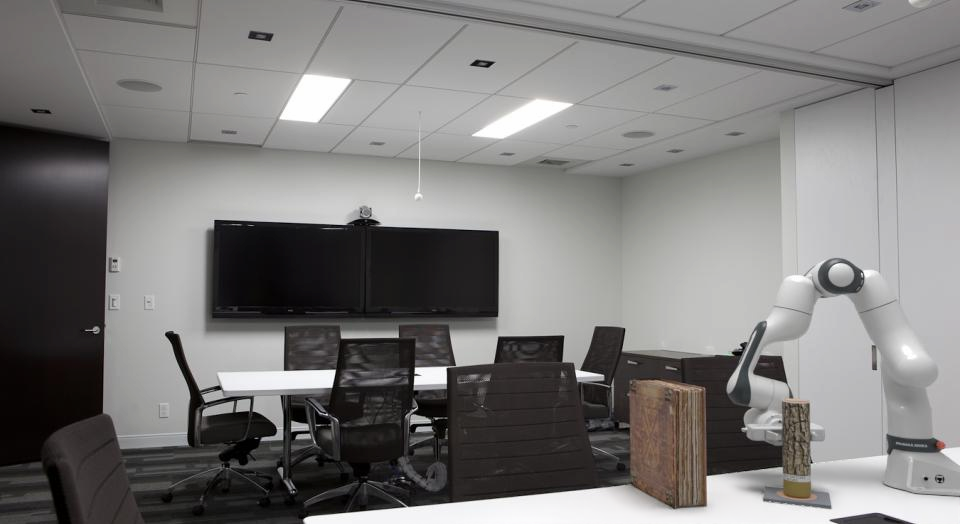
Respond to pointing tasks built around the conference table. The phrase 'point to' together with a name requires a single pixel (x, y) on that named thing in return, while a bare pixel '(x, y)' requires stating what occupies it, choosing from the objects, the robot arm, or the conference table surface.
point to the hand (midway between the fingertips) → (796, 437)
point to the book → (668, 441)
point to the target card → (814, 500)
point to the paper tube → (796, 447)
